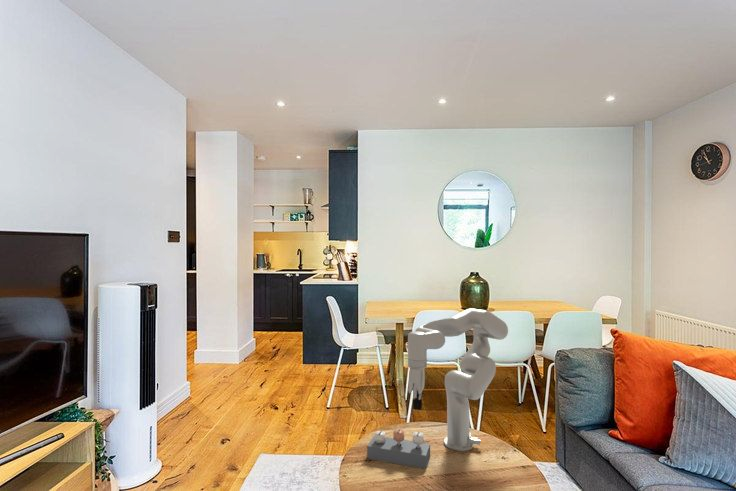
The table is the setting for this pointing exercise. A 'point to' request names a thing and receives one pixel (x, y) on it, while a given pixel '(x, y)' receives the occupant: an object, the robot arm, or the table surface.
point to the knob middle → (398, 436)
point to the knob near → (418, 439)
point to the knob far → (379, 437)
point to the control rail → (399, 452)
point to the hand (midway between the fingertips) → (417, 408)
